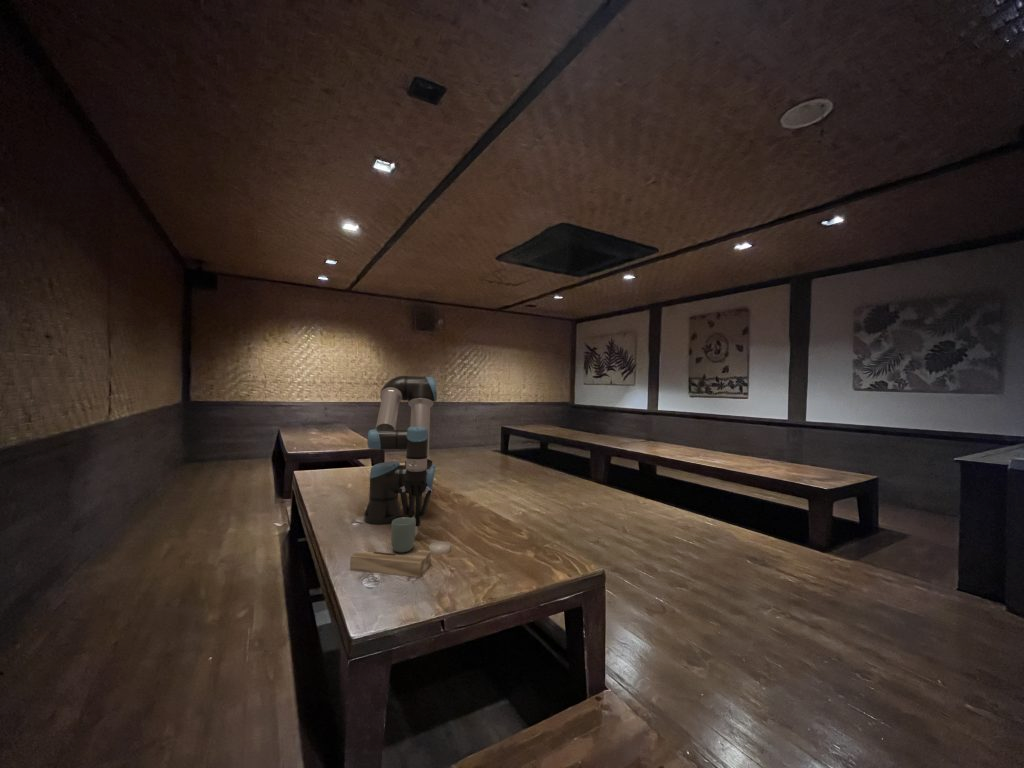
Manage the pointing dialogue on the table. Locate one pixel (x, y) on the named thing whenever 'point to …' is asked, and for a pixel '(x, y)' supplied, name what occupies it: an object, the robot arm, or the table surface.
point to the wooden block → (391, 563)
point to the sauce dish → (439, 547)
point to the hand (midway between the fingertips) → (414, 534)
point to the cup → (403, 534)
